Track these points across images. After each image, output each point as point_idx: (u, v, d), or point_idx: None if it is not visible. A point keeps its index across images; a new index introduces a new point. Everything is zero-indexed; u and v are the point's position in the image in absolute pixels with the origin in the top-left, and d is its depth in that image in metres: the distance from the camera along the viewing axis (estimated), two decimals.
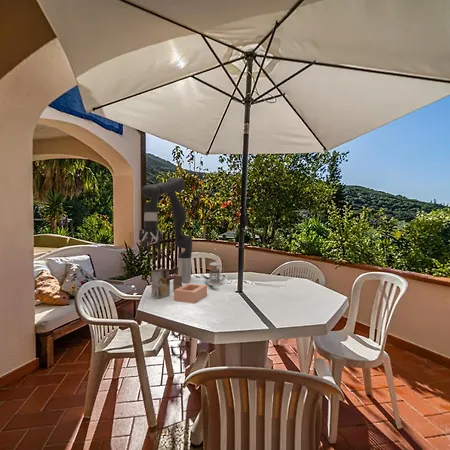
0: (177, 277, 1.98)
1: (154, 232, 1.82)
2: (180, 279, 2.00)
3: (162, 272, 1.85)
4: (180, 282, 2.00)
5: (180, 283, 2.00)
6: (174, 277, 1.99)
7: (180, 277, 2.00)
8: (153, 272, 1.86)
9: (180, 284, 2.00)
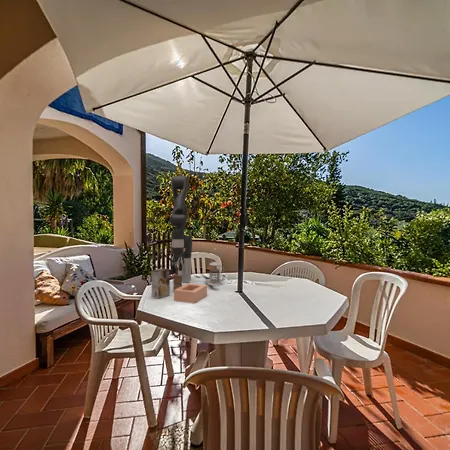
0: (177, 277, 1.98)
1: (181, 256, 2.03)
2: (180, 279, 2.00)
3: (162, 272, 1.85)
4: (180, 282, 2.00)
5: (180, 283, 2.00)
6: (174, 277, 1.99)
7: (180, 277, 2.00)
8: (153, 272, 1.86)
9: (180, 284, 2.00)
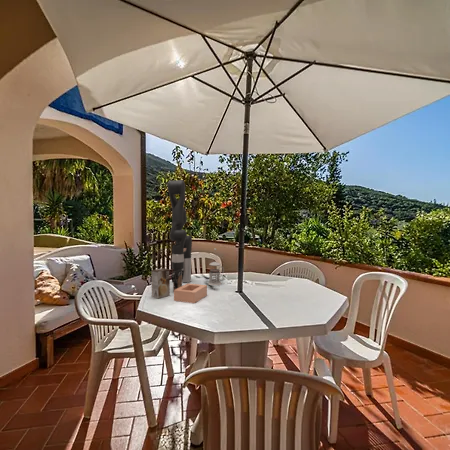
0: None
1: None
2: (180, 279, 2.00)
3: (162, 272, 1.85)
4: (180, 282, 2.00)
5: (180, 283, 2.00)
6: None
7: (180, 277, 2.00)
8: (153, 272, 1.86)
9: (180, 284, 2.00)
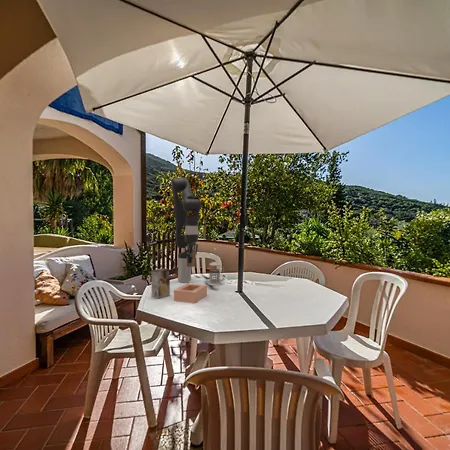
0: None
1: (195, 244, 1.88)
2: (194, 253, 1.85)
3: (162, 272, 1.85)
4: (194, 256, 1.85)
5: (194, 257, 1.85)
6: None
7: (194, 251, 1.85)
8: (153, 272, 1.86)
9: (194, 258, 1.85)
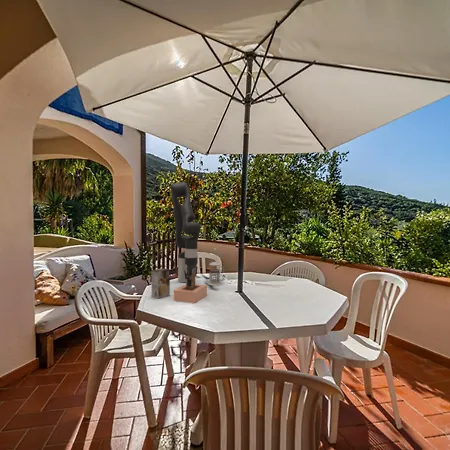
0: None
1: (194, 267, 1.89)
2: (193, 276, 1.86)
3: (162, 272, 1.85)
4: (193, 279, 1.86)
5: (193, 280, 1.86)
6: None
7: (193, 274, 1.86)
8: (153, 272, 1.86)
9: (193, 281, 1.86)
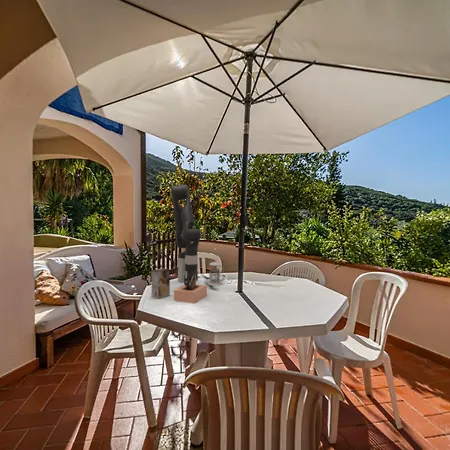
0: (191, 283, 1.85)
1: (195, 273, 1.89)
2: (194, 285, 1.86)
3: (162, 272, 1.85)
4: (194, 288, 1.86)
5: None
6: None
7: (194, 282, 1.86)
8: (153, 272, 1.86)
9: None
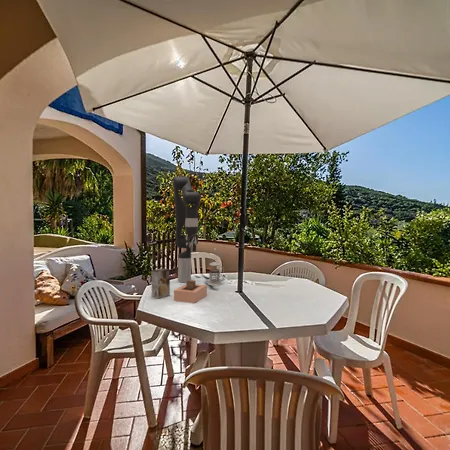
0: (191, 283, 1.85)
1: (195, 236, 1.92)
2: (194, 285, 1.86)
3: (162, 272, 1.85)
4: (194, 288, 1.86)
5: None
6: (187, 282, 1.85)
7: (194, 282, 1.86)
8: (153, 272, 1.86)
9: None
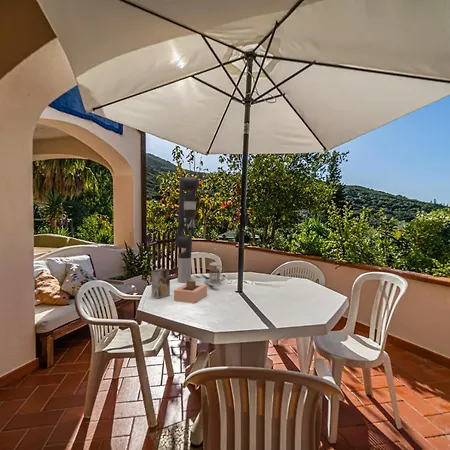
0: (191, 283, 1.85)
1: None
2: (194, 285, 1.86)
3: (162, 272, 1.85)
4: (194, 288, 1.86)
5: None
6: (187, 282, 1.85)
7: (194, 282, 1.86)
8: (153, 272, 1.86)
9: None
